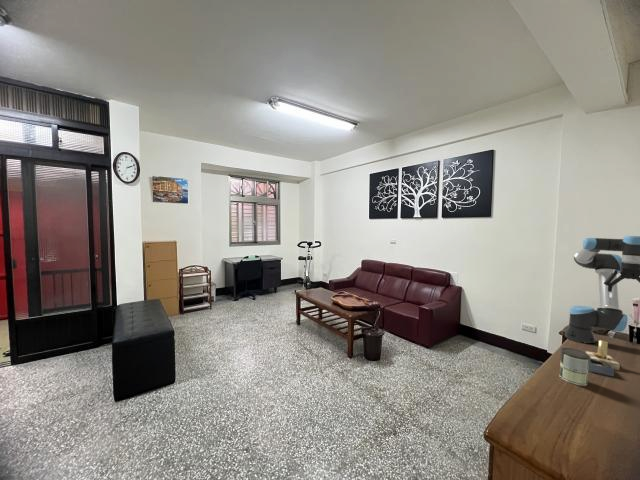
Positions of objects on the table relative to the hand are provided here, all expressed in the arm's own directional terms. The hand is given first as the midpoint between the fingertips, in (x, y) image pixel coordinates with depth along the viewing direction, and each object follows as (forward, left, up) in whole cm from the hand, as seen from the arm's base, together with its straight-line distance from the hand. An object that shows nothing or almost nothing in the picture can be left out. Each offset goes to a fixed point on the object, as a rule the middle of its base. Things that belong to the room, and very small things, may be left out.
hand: (627, 299), depth 151 cm
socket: (+22, -18, -37) cm, 46 cm away
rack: (+10, -12, -37) cm, 40 cm away
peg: (+10, -12, -37) cm, 40 cm away
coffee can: (+43, -33, -37) cm, 66 cm away
